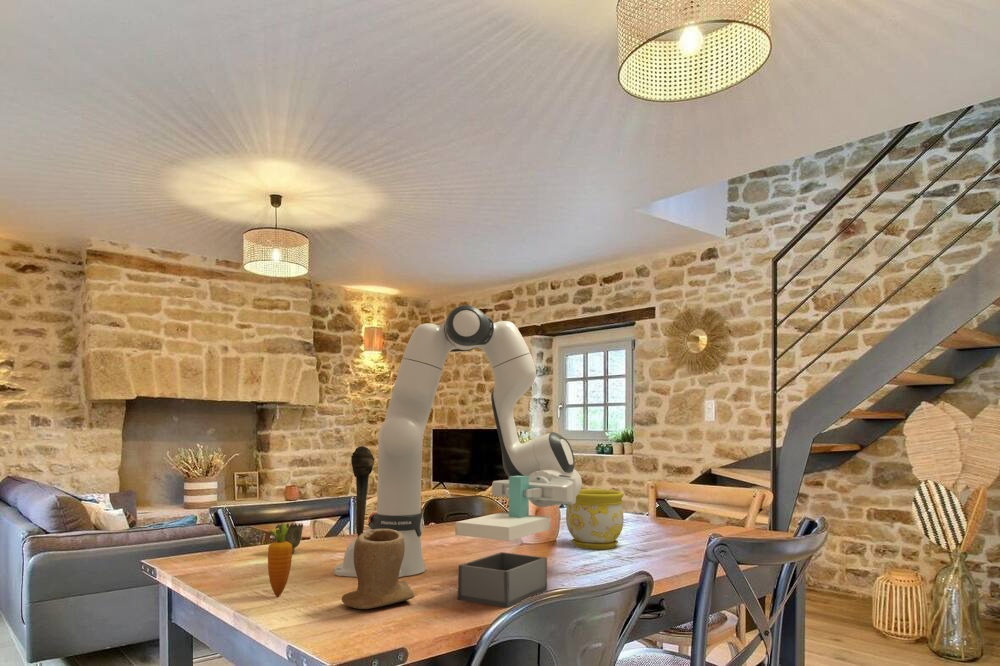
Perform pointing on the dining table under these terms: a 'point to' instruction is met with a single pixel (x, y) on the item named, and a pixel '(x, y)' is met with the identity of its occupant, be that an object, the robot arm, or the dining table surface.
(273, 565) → the carrot
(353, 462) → the decorative torch
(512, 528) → the lid
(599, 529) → the flowerpot
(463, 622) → the dining table surface
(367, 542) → the brown boot-shaped piece
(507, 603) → the tub
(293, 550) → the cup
